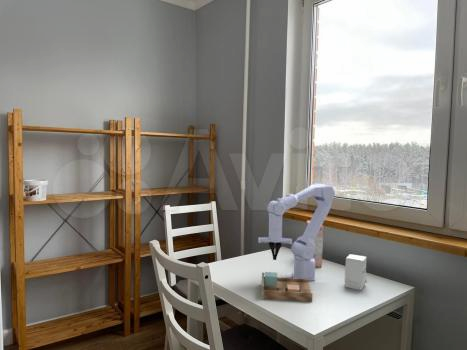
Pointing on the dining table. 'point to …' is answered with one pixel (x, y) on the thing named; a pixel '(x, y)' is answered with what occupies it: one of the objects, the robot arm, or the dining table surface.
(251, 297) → the dining table surface
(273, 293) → the brown wooden tray
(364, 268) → the supplement box
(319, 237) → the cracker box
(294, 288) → the clay block
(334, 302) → the dining table surface
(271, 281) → the teal block
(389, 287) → the dining table surface
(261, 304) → the dining table surface
